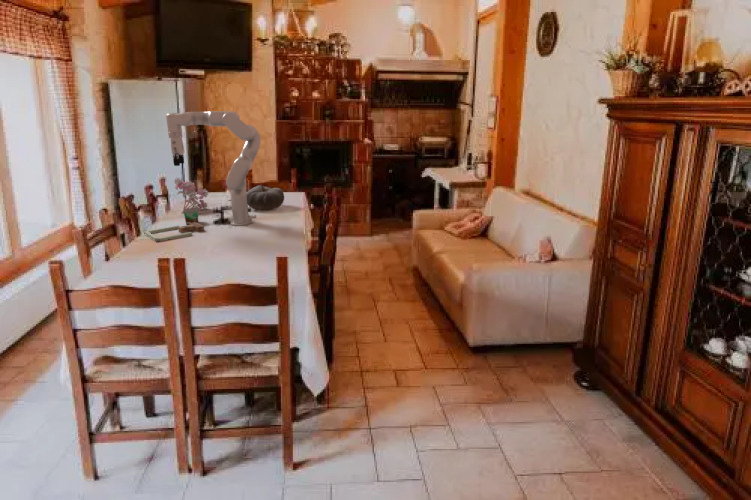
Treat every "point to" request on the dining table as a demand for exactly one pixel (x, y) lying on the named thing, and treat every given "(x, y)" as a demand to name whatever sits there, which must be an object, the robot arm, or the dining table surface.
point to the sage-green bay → (166, 236)
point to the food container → (191, 214)
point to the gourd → (265, 198)
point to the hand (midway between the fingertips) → (179, 164)
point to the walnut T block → (191, 228)
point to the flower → (191, 193)
